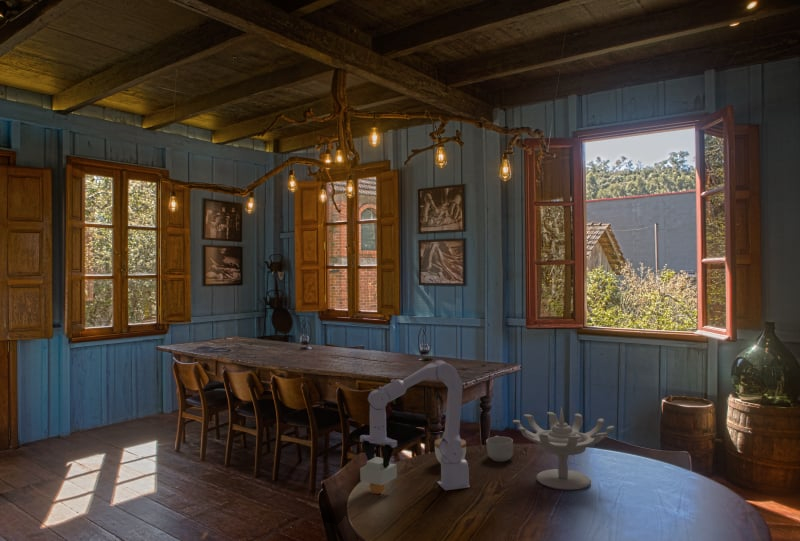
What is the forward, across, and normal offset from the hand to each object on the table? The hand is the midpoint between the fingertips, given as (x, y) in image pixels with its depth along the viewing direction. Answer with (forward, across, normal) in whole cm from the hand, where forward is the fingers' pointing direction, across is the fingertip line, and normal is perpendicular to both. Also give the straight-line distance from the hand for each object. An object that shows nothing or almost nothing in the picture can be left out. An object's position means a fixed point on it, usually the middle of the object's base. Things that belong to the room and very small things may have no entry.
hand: (378, 465), depth 190 cm
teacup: (+10, +21, +56) cm, 60 cm away
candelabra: (+10, +51, +42) cm, 67 cm away
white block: (+5, 0, 0) cm, 5 cm away
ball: (+7, 0, -1) cm, 7 cm away
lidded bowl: (+10, +7, +38) cm, 40 cm away
